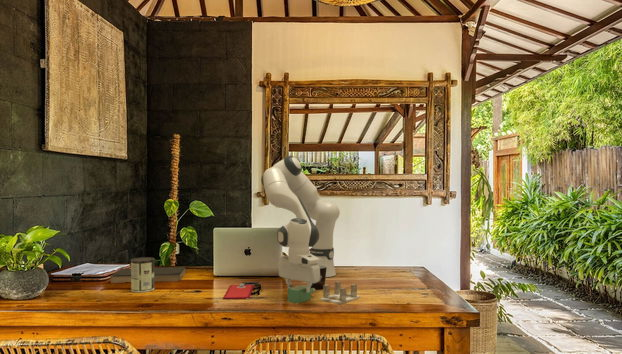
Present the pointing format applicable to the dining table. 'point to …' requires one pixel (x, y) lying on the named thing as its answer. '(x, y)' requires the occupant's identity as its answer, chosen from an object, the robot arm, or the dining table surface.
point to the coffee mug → (322, 278)
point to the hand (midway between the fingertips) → (298, 290)
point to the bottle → (299, 294)
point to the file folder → (159, 274)
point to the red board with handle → (242, 290)
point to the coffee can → (142, 274)
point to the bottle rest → (339, 294)
